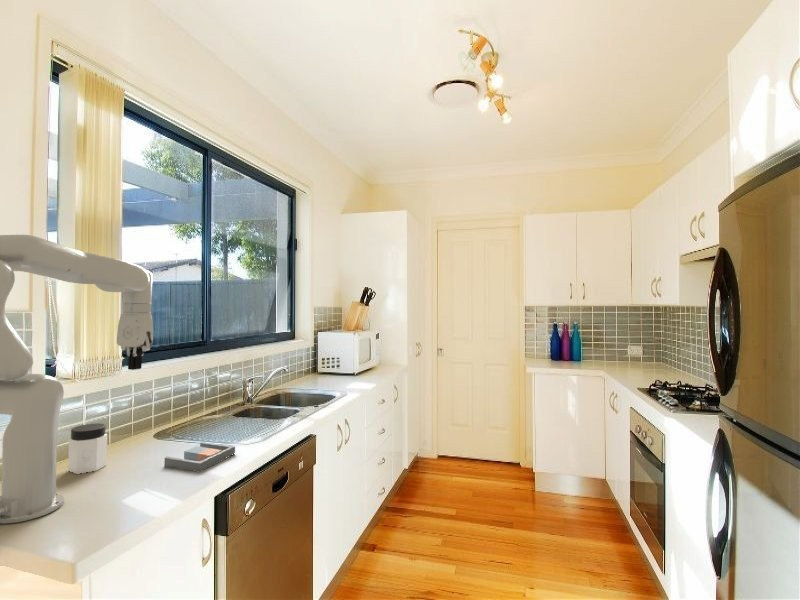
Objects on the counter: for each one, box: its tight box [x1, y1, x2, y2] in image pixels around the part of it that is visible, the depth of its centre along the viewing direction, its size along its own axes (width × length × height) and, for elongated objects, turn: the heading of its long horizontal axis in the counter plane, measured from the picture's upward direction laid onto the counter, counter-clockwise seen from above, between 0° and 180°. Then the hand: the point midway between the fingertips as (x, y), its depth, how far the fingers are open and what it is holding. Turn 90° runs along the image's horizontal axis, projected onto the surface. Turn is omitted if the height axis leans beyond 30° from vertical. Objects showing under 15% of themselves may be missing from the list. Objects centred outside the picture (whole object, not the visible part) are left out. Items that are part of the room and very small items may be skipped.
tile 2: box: [197, 448, 222, 462], centre depth 128 cm, size 5×5×3 cm
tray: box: [163, 441, 236, 472], centre depth 128 cm, size 15×13×2 cm
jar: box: [67, 422, 108, 475], centre depth 121 cm, size 9×8×12 cm
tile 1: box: [183, 445, 208, 461], centre depth 129 cm, size 5×5×3 cm
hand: (134, 369), depth 127 cm, fingers closed
